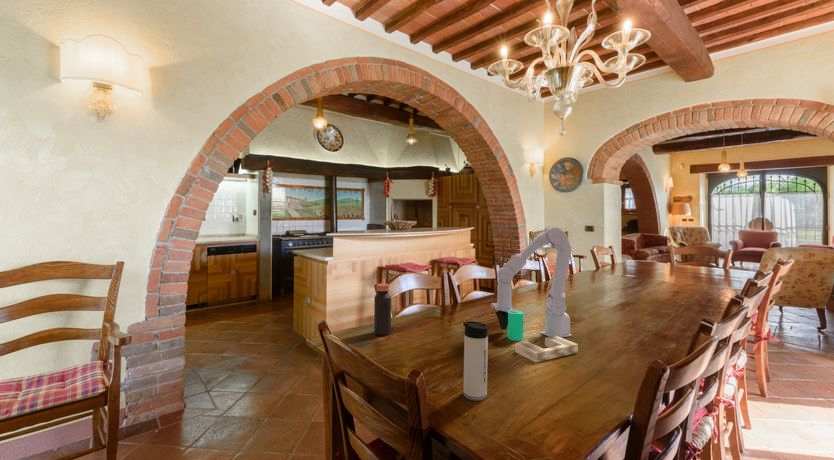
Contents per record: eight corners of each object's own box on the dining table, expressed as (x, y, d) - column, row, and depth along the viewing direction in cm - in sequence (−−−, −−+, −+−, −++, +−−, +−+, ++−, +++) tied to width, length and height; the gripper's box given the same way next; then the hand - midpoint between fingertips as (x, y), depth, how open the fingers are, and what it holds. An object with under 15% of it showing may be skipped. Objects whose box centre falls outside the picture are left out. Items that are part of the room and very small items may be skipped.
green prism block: (524, 341, 139) (524, 310, 138) (508, 340, 140) (508, 309, 139) (522, 336, 144) (523, 306, 144) (507, 334, 146) (507, 305, 145)
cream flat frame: (555, 343, 137) (555, 335, 137) (577, 352, 128) (577, 344, 128) (514, 351, 128) (515, 343, 128) (535, 362, 119) (535, 353, 119)
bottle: (386, 337, 142) (387, 287, 141) (371, 334, 144) (371, 285, 143) (393, 331, 148) (393, 283, 147) (378, 329, 150) (378, 282, 149)
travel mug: (460, 389, 100) (461, 319, 99) (483, 389, 101) (484, 319, 100) (464, 401, 94) (466, 326, 93) (489, 400, 94) (491, 326, 93)
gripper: (485, 293, 153) (485, 325, 153) (508, 301, 140) (507, 335, 140) (498, 292, 156) (498, 323, 156) (522, 299, 143) (521, 333, 143)
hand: (503, 329), depth 149 cm, fingers closed
